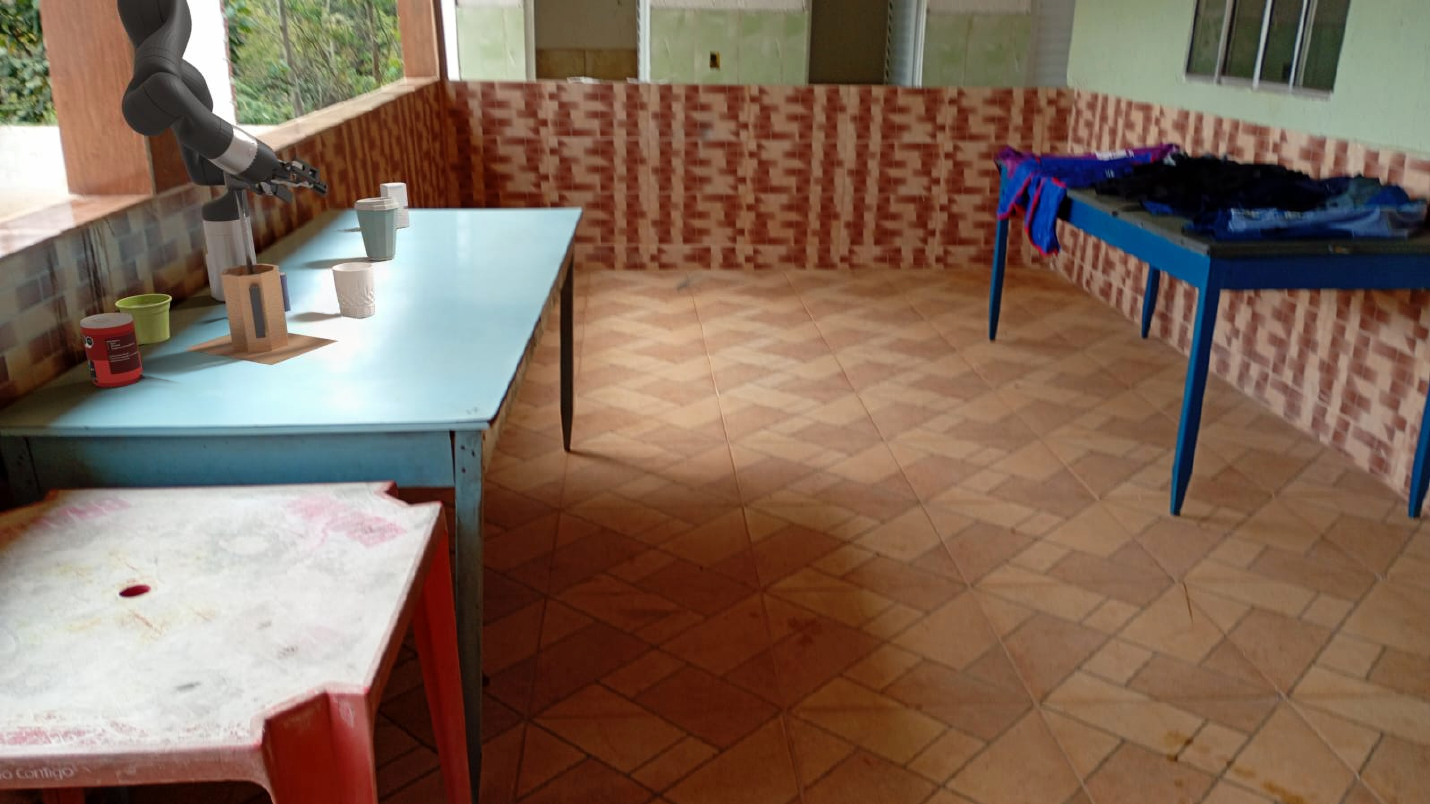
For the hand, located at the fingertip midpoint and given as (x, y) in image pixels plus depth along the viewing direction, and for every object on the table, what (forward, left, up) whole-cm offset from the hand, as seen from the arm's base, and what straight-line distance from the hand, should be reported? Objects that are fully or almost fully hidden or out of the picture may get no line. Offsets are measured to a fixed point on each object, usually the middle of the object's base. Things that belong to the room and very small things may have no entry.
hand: (308, 194), depth 207 cm
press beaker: (-5, -11, -26) cm, 29 cm away
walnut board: (-5, -11, -27) cm, 30 cm away
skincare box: (-63, +92, -27) cm, 115 cm away
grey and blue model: (-23, +8, -28) cm, 37 cm away
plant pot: (-27, -17, -27) cm, 42 cm away
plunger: (-5, -11, -17) cm, 21 cm away
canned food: (-14, -34, -27) cm, 46 cm away
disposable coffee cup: (-39, +59, -27) cm, 76 cm away
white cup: (-7, +16, -27) cm, 32 cm away
